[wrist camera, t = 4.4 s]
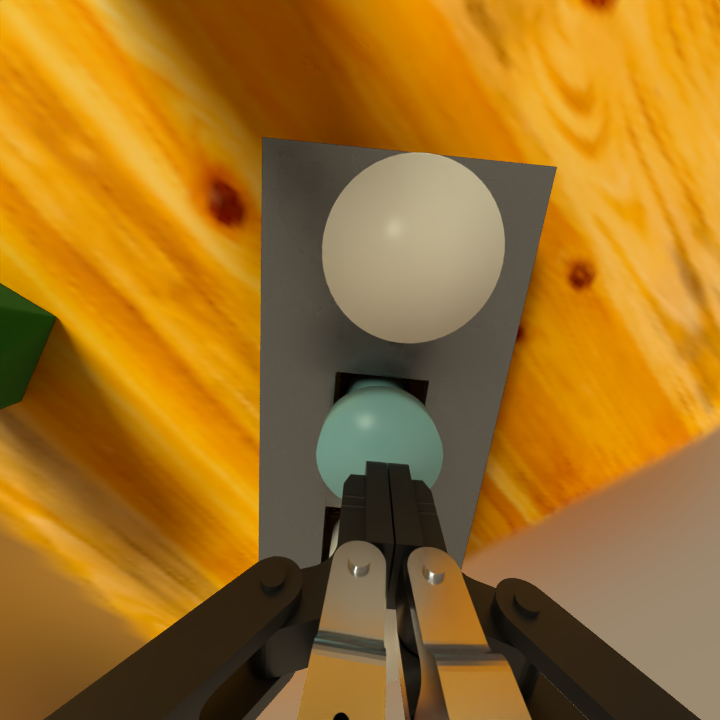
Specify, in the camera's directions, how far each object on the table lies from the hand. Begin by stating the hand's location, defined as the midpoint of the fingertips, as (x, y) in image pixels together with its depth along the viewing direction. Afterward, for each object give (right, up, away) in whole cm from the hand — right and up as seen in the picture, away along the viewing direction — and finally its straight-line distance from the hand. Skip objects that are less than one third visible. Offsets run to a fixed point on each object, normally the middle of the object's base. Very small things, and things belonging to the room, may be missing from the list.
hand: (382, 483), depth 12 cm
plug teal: (0, +2, +8) cm, 8 cm away
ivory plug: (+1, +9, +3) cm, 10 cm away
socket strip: (0, +3, +10) cm, 10 cm away
